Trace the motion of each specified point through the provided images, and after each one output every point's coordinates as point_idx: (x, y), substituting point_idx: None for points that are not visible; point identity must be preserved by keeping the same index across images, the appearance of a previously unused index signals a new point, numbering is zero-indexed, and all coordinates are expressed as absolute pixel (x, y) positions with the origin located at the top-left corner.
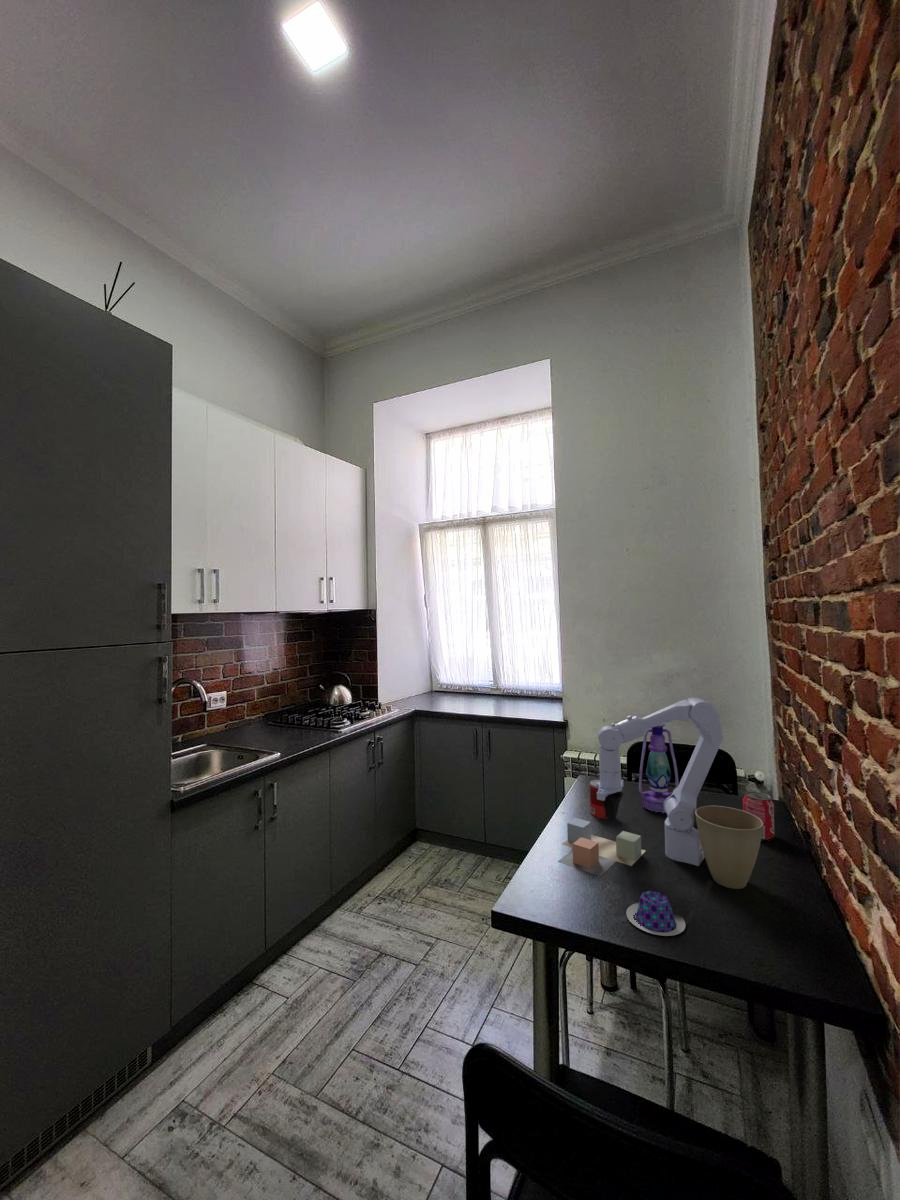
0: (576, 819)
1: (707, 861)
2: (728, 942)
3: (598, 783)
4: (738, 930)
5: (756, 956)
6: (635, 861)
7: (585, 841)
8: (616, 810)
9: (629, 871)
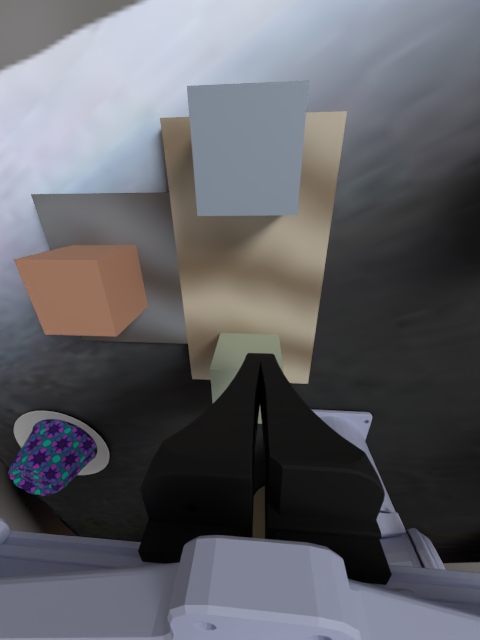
0: (282, 110)
1: (257, 523)
2: (106, 504)
3: (246, 633)
4: (143, 510)
5: (107, 521)
6: None
7: (78, 294)
8: (263, 432)
9: (184, 370)
